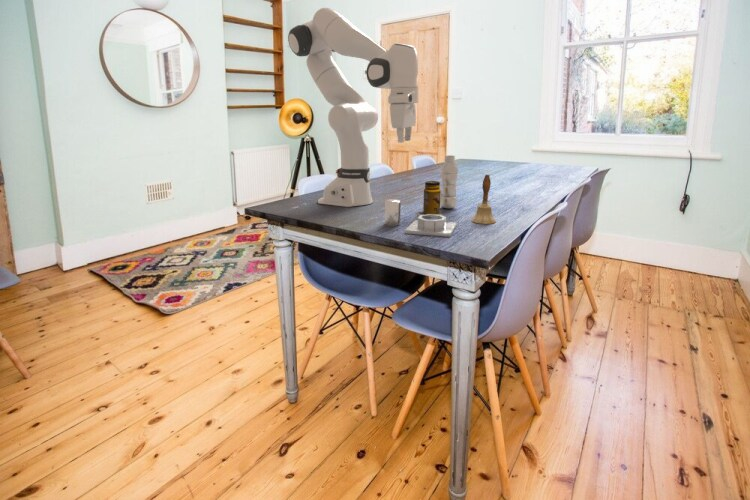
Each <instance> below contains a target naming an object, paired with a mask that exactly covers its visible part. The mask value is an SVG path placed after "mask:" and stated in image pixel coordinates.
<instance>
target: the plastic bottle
mask: <svg viewBox="0 0 750 500" xmlns="http://www.w3.org/2000/svg"><path fill="white" fill-rule="evenodd" d="M455 162H456V155H450V154H449V155H445V156H444V163H443V165H442V166H441V168H440V171H439V172H440V179H441V183H440V185H441V186H440V188H441V189H440V190H441V193H440V208H443V209H446V210H448V209H454V208H456V206H457V203H458V199H457V179H458V172H459V168H458V166H457V165H456V163H455Z"/></svg>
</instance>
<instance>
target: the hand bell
mask: <svg viewBox="0 0 750 500" xmlns="http://www.w3.org/2000/svg"><path fill="white" fill-rule="evenodd" d="M491 184H492V182H491V177H490V174H485V176H484V179H483V181H482V192H483V194H482V196H483V197H482V203H480V204H479V205H478V206H477V209H476V213H475V215H474V216H473V217H472V218H471V220H470V221H471V222H472V223H475V224H479V225H480V224H481V225H492V224H496V222H497V221H496V218H494V216H493V213H492V206H491V205H490V204H488V199H489V193H490V189H491Z"/></svg>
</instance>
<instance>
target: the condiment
mask: <svg viewBox="0 0 750 500" xmlns="http://www.w3.org/2000/svg"><path fill="white" fill-rule="evenodd" d="M424 184H425V185H424V188H423V205H422V206H423V207H422V208H423V210H422V211H414V213H415V214H416V215H418V217H419V216H420V215H426V214H435V215H442V216H444V214H441V213H440V209H441V206H440V196H441V189H440V188H441V186H440V185H441V183H440V181H438V180H437V181H436V180H426V181H425V182H424Z"/></svg>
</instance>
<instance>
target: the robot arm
mask: <svg viewBox="0 0 750 500" xmlns="http://www.w3.org/2000/svg"><path fill="white" fill-rule="evenodd" d="M287 39H288V40H287V41H288V45H289V48H290V49H291V52H293V54H295V55H296V56H297V57H307V58H306V62H305V63H306V67H307V69H308V72H309V74H310V76H311V78H312V79H313V82H314V83H315V85H316V86H317V88H318V89H319V91H320V93H321V94H322V96H323V98H324V99H325V101H326V102H327V103H329V104H330V105H332V108H330V109H329V112H328V115H327V117H328V124H329V126H330V127H331V129H332V130H333V131H334V133H335V135H336V137H337V140H338V144H339V145H338V146H339V149H340V151H339V152H340V167H339V168H338V169H336V170H335V174H336V175H337V177H336V178H334V179H333V180H331V181H330V182H329V183H328V184H327V185H325V187H324V189H323V196H322V197H320V198H318V200H317V203H318V204H319V205H321V204H322V205H330V206H338V207H347V208H350V207H357V206H365V205H370V204H372V203H373V202H374V200H373V198H372V192H371V188H370V187H371V186H370V180H371V172H370V171H371V170H370V169H371V168H370V167H369V165H370V164H369V161H370V160H369V159H370V158H369V147H368V145H367V144H366V143H365V140H364V138H363V134H362V133H363V132H367V131H369V130H371V129H373V128H374V127H376V125H377V123H378V121H379V120H378V119H379V114H378V111H377V108H376V107H374V106H373V105H371V104H370V103H369V102H367V101H366V100H365V99H364V98H363V97H362V96H361V95H360V94H359V93H358V92H357V90H355V88H354V87H353V86H352V84H351V83H350V82H349V81H348V79H347V78H346V76H345V75H344V73H343V71H342V70H341V69H340V67H339V66H338V64H337V63H336V61H335V60H334V58H333V53H337V54H338V55H341V56H344V57H350V58H356V59H357V58H358V59H362V60H365V61H367V62H368V64H367V67H366V71H365V72H366V73H365V75H366V79H367V81H368V83H369V85H370V86H372V87H374V88H376V89H386V90H388V89H390V93H389V95H388V96H387V97H388V98H387V100H388V101H387V102H388V104H389V113H390V114H389V115H390V123H391V127H392V129H396V135H397V142H398V143H400V144H401V143H404V142H405V141H406V142H407V141H408V142H409V141H411V138H412V136H411V135H412V131H413V127H415V126H416V123H417V121H416V120H417V118H416V104H418V103H419V85H418V81H417V79H418V75H419V74H418V73H419V61H418V59H419V58H418V52H417V49H416V47H415V46H414V45H411V44H406V43H405V44H404V43H397V42H396V43H393V44H391V46H390V48H389V49H386V48H384V47H383V46H382V45H381V44H379V43H378V42H376V41H374V40H373V39H372V38H371V37H369V36H368V35H367V34H365V33H364V32H363V31H362V30H360V29H359V28H358V27H357V26H355V25H354V24H353V23H352V22H351V21H350V20H349V19H347V18H346V17H345V16H344V15H342V14H341V13H339V12H337V11H336V10H334V9H331V8H329V7H321V8H320V9H318V10H317V11H316V12H315V13H314V15H313V17H312V20H310V21H307V22H305V23H302V24H299V25H295V26H294V27H293V28H292V27H291V29H290V30H289V33H288V37H287Z"/></svg>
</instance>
